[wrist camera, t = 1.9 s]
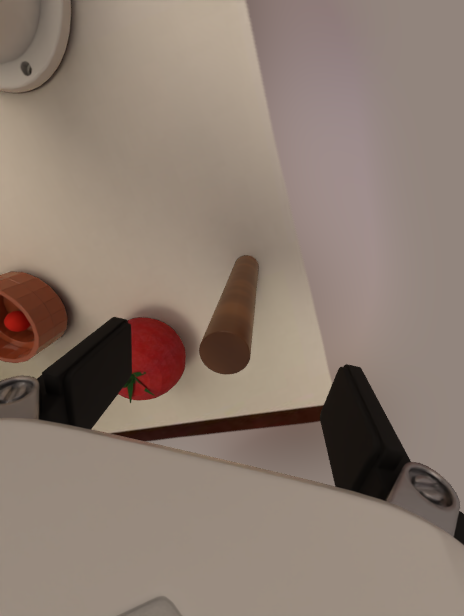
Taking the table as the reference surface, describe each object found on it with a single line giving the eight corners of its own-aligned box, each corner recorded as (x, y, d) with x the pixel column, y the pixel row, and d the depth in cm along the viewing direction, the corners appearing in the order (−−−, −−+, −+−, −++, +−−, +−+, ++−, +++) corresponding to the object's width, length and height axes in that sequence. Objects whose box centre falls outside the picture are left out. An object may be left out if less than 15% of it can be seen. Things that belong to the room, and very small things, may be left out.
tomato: (207, 355, 30) (189, 406, 23) (150, 378, 33) (117, 431, 26) (165, 293, 28) (130, 329, 20) (106, 324, 30) (57, 365, 23)
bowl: (11, 253, 28) (-38, 265, 23) (83, 303, 29) (50, 323, 25) (-9, 309, 31) (-55, 328, 27) (56, 351, 33) (23, 376, 28)
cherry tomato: (20, 303, 30) (1, 312, 27) (39, 315, 30) (21, 325, 28) (14, 317, 30) (-5, 326, 28) (33, 329, 31) (15, 339, 29)
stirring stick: (245, 250, 25) (219, 321, 11) (263, 265, 25) (261, 353, 12) (229, 268, 26) (189, 354, 12) (247, 283, 26) (228, 383, 13)
